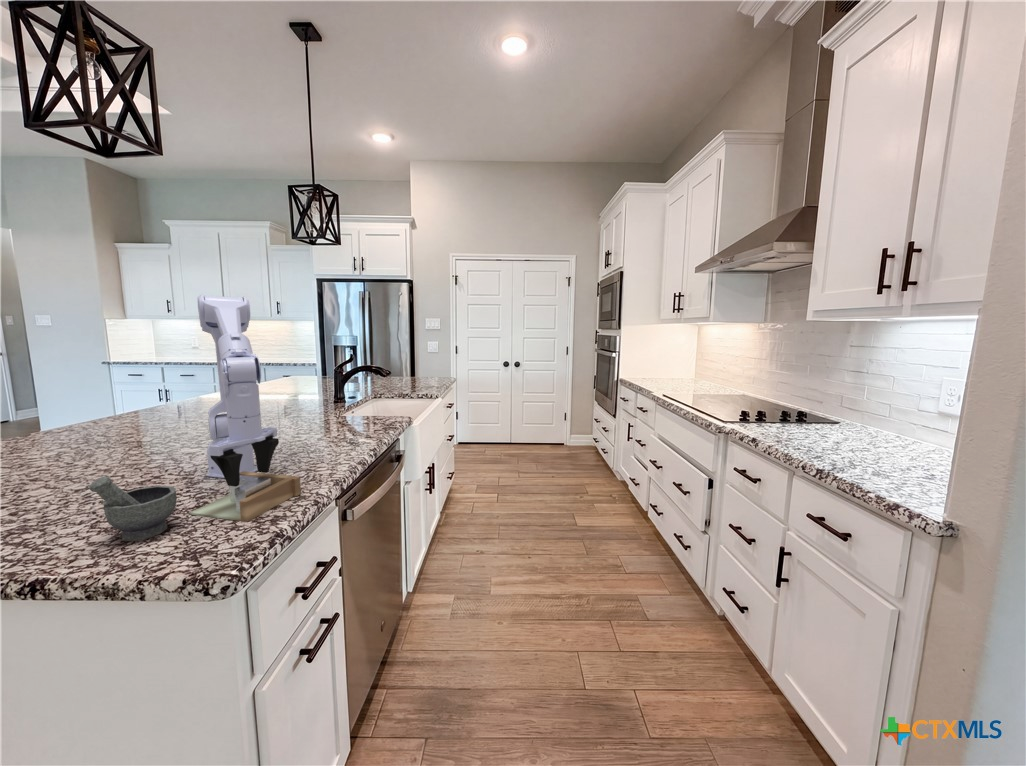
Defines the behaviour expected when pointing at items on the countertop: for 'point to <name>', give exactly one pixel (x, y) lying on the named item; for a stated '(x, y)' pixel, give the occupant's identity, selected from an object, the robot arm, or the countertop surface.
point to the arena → (253, 499)
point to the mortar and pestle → (136, 508)
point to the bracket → (247, 488)
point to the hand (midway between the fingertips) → (249, 478)
